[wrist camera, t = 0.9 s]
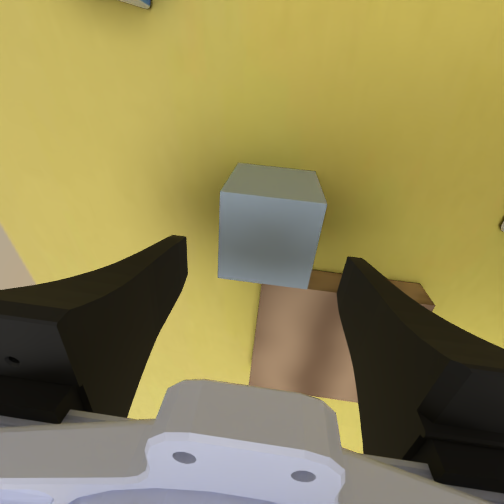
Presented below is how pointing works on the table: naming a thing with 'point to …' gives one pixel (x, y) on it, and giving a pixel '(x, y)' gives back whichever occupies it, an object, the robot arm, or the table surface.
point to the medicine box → (138, 3)
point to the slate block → (270, 225)
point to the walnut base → (308, 338)
